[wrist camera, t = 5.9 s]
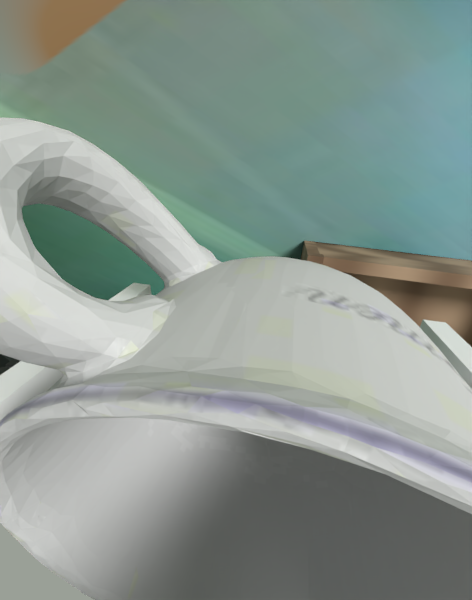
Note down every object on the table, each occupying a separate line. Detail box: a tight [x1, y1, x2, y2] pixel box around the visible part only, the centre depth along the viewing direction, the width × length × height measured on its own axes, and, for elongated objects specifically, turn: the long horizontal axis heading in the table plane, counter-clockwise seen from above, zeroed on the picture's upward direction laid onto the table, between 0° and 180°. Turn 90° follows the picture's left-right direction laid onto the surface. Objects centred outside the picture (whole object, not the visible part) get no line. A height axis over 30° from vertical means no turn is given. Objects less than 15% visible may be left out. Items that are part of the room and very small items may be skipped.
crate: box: [300, 241, 472, 347], centre depth 25 cm, size 20×19×6 cm
